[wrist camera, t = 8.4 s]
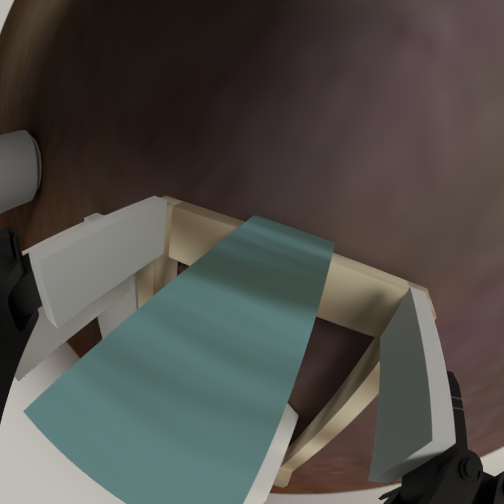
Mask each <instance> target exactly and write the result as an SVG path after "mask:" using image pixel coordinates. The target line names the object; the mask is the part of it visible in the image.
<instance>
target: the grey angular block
mask: <svg viewBox="0 0 504 504" xmlns="http://www.w3.org/2000/svg"><path fill="white" fill-rule="evenodd" d="M103 216H104V215H101V214H99V213H94V214H92V215H90V216H87V217H85V218H84V220H85V221H84V222H82V223H80V224H78V225H75V226H73V227H71V228H69V229H67V230H65V231H62V232H60V233H58V234H56V235H54V236H52V237H50V238H48V239H46V240H44V241H42V242H40V243H38V244H36V245H34V246H32V247H30V248H28V249H26V250H24V251H22V255H24V254H27V253H28V252H30V251H31V250H33V249H35V248H37V247H39V246H41V245H43V244H45V243H47V242H49V241H51V240H53V239H55V238H57V237H59V236H61V235H63V234H65V233H67V232H70V231H72V230H74V229H76V228H78V227H80V226H83V225H85V224H87V223H89V222H91V221H94V220H96V219H98V218H101V217H103ZM137 309H139V307H138V291H137V272H135V273H134V274H132V275H131V276H129V277H128V278H127V279H125V280H124V281H122V282H121V283H119V284H118V285H117V286H115V287H114V288H112V289H111V290H109V291H108V292H107V293H105V294H104V295H102V296H101V297H100V298H98V299H97V300H96V301H94V302H93V303H91V304H90V305H89V306H87V307H86V308H85V309H83V310H82V311H81V312H79V313H78V314H76V315H75V316H74V317H72V318H71V319H70V320H68V321H67V322H66V323H65V324H63V325H62V326H61V327H59V328H56V327H55V326H54V325H53V324H52V323H51V322H50V321H49V320H48V319H47V318H46V315H45V312H44V309H43V306H41V307H40V308H38V312H39V318H38V321H37V323H36V325H35V327H34V329H33V331H32V334H31V336H30V338H29V340H28V343H27V345H26V347H25V350H24V352H23V355H22V357H21V360H20V362H19V365H18V368H17V370H16V373H15V377H16V379H17V380H18V381H19V380H21V379H22V378H23V377H24V376H25V375H26V374H27V373H29V372H30V371H31V370H32V369H33V368H34V367H36V366H37V365H38V364H39V363H40V362H41V361H43V360H44V359H45V358H46V357H47V356H49V355H50V354H51V353H52V352H53V351H55V350H56V349H57V348H58V347H59V346H61V345H62V344H63V343H64V342H66V341H67V340H68V339H69V338H70V337H72V336H73V335H74V334H75V333H77V332H78V331H79V330H80V329H82V328H83V327H84V326H85V325H87V324H88V323H89V322H91V321H92V320H93V319H94V318H96V317H98V322H99V326H100V331H101V335H102V339H104V338H105V337H106V336H107V335H108V334H109V333H110V332H112V331H113V330H114V329H115V328H116V327H117V326H119V325H120V324H121V323H122V322H123V321H124V320H126V319H127V318H128V317H129V316H130V315H131V314H133V313H134V312H135V311H136V310H137Z"/></svg>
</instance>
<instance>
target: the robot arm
mask: <svg viewBox="0 0 504 504" xmlns="http://www.w3.org/2000/svg"><path fill="white" fill-rule="evenodd" d="M166 210H167V200H166V199H163V198H160V197H157V196H153V197H150V198H147V199H145V200H142V201H140V202H137V203H134V204H132V205H129V206H127V207H124V208H122V209H120V210H117V211H115V212H112V213H110V214H108V215H105V216H103V217H101V218H98V219H96V220H94V221H91V222H89V223H87V224H85V225H83V226H80V227H78V228H76V229H74V230H72V231H70V232H67V233H65V234H63V235H61V236H59V237H57V238H55V239H53V240H51V241H49V242H47V243H45V244H43V245H41V246H39V247H37V248H35V249H33V250H31V251H30V252H28V253H27V254H24V255H22V250H21V245H20V240H19V235H18V231H17V230H16V229H13V228H5V229H1V230H0V423H1V419H2V415H3V411H4V408H5V404H6V401H7V397H8V394H9V391H10V388H11V385H12V381H13V379H14V376H15V373H16V370H17V368H18V365H19V362H20V360H21V357H22V355H23V352H24V350H25V347H26V345H27V343H28V340H29V338H30V336H31V334H32V331H33V329H34V327H35V325H36V323H37V321H38V318H39V312H38V308H40V307H41V306H43V309H44V312H45V315H46V318H47V319H48V320H49V321H50V322H51V323H52V324H53V325H54V326H55V327H56V328H59V327H61V326H62V325H63V324H65V323H66V322H67V321H68V320H70V319H71V318H72V317H74V316H75V315H76V314H78V313H79V312H81V311H82V310H83V309H85V308H86V307H87V306H89V305H90V304H91V303H93V302H94V301H96V300H97V299H98V298H100V297H101V296H102V295H104V294H105V293H107V292H108V291H109V290H111V289H112V288H114V287H115V286H117V285H118V284H119V283H121V282H122V281H124V280H125V279H127V278H128V277H129V276H131V275H132V274H134V273H135V272H137V271H138V270H140V269H141V268H143V267H144V266H145V265H147V264H148V263H150V262H151V261H153V260H154V259H156V258H157V257H159V256H160V255H162V254H163V253H164V239H165V223H166ZM462 409H463V405H462V400H461V393H460V388H459V384H458V382H457V380H456V378H455V376H454V374H453V373H452V372H450V371H446V367H445V362H444V357H443V353H442V349H441V344H440V340H439V336H438V333H437V329H436V325H435V322H434V318H433V315H432V311H431V308H430V305H429V301H428V298H427V295H426V292H423V291H421V290H418V289H415V288H413V287H410V288H409V289H408V291H407V293H406V295H405V297H404V298H403V300H402V302H401V304H400V306H399V307H398V309H397V311H396V312H395V314H394V316H393V317H392V319H391V321H390V322H389V324H388V326H387V327H386V329H385V330H384V332H383V334H382V335H381V337H380V379H379V398H378V412H377V423H376V432H375V440H374V448H373V455H372V462H371V468H370V473H369V479H368V481H375V482H383V483H391V482H393V481H395V480H397V479H399V478H401V477H402V485H401V487H398V488H396V489H394V490H392V491H390V492H388V493H385V494H383V495H382V496H381V497H380V498H379V499H380V500H382V499H385V498H387V497H389V498H388V499H387V500H386V501H385V502H384V504H504V472H502V473H500V474H499V475H497V476H495V477H494V476H492V475H490V474H487V473H485V472H483V465H482V463H481V460H480V458H479V457H478V456H477V454H476V453H474V452H472V451H471V450H468V446H467V435H466V426H465V418H464V411H462Z"/></svg>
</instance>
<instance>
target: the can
mask: <svg viewBox="0 0 504 504" xmlns="http://www.w3.org/2000/svg"><path fill="white" fill-rule="evenodd" d="M40 181H41V157H40V151H39V147H38V144H37V142H36V140H35V139H34V138H33V137H32V136H31V135H30V134H29V133H28V132H27V131H26V130H20V131H16V132H11V133H7V134H3V135H0V213H3V212H5V211H7V210H9V209H12V208H14V207H17V206H19V205H22V204H24V203H27V202H29V201H32V199H33V198H34V196H35V193H36V191H37V189H38V188H39V185H40Z"/></svg>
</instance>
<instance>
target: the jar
mask: <svg viewBox="0 0 504 504" xmlns="http://www.w3.org/2000/svg"><path fill="white" fill-rule="evenodd" d="M297 420H298V414H297V413H296V412H295V411H294V410H293V408H292V407H291V406H290V405H289V404H288V403H287V405H286V407H285V410H284V413H283V415H282V418H281V420H280V423H279V425H278V428H277V430H276V433H275V435H274V438H273V440H272V442H271V445H270V447H269V450H268V452H267V454H266V456H265V459H264V461H263V463H262V466H261V468H260V470H259V472H258V474H257V476H256V479H255V481H254V483H253V485H252V487H251V489H250V491H249V493H248V495H247V497H246V499H245V501H244V503H243V504H264V503H265V501H266V499H267V497H268V494H269V492H270V490H271V488H272V485H273V483H274V480H275V478H276V476H277V473H278V471H279V468H280V466H281V463H282V461H283V458H284V456H285V453H286V450H287V448H288V445H289V442H290V440H291V437H292V434H293V431H294V428H295V425H296V423H297Z"/></svg>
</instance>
